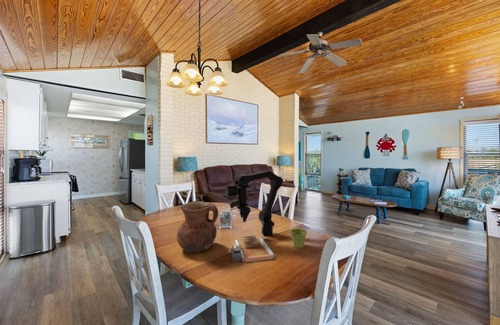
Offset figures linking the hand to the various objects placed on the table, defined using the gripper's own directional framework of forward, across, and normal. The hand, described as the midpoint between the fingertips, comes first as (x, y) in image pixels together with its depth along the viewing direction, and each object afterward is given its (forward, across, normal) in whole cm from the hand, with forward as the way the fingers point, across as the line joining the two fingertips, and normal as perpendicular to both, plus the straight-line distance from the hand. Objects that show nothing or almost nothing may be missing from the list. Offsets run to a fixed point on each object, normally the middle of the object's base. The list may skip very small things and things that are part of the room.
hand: (243, 219), depth 135 cm
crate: (+12, +10, +2) cm, 16 cm away
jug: (+11, +7, -28) cm, 31 cm away
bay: (+12, +17, +2) cm, 21 cm away
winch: (+12, +26, -9) cm, 30 cm away
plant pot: (+13, +17, +29) cm, 36 cm away
